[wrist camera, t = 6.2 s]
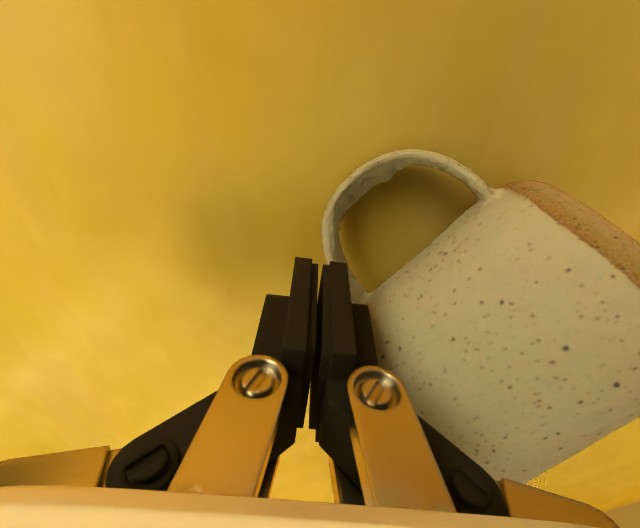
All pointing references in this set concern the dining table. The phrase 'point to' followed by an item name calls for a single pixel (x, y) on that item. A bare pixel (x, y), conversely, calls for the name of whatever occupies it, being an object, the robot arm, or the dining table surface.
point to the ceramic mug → (507, 319)
